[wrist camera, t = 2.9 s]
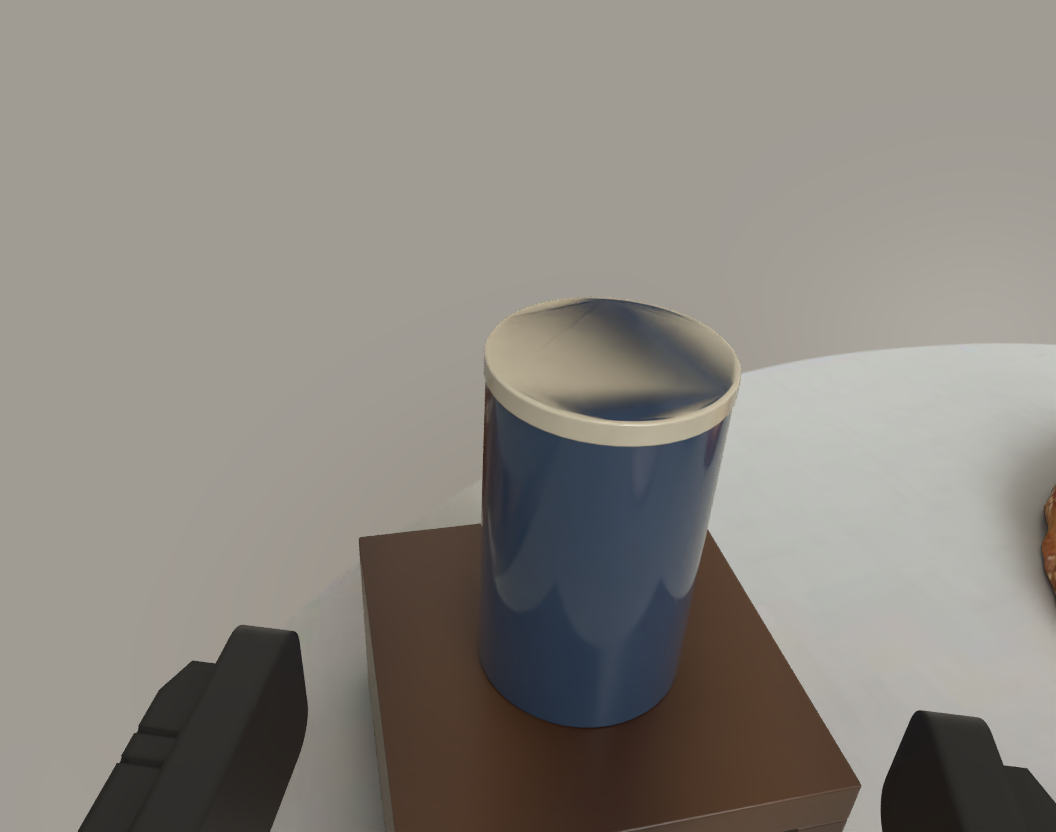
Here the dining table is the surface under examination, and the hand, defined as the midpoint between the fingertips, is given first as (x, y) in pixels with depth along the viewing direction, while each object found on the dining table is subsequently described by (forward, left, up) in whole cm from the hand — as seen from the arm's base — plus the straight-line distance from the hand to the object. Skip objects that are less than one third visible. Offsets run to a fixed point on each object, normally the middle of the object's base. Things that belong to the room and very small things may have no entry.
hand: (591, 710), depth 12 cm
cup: (+4, +10, -11) cm, 15 cm away
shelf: (+4, +10, -18) cm, 21 cm away
